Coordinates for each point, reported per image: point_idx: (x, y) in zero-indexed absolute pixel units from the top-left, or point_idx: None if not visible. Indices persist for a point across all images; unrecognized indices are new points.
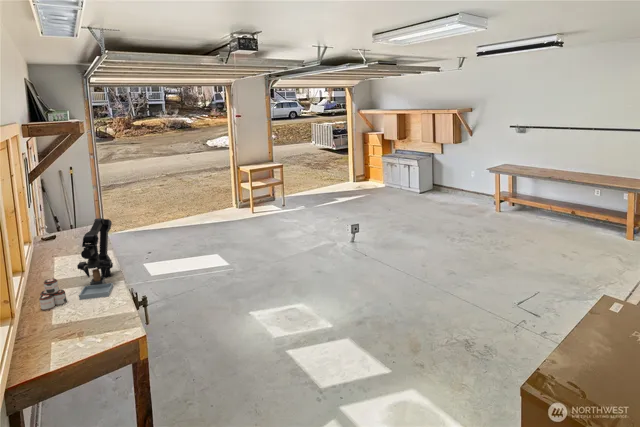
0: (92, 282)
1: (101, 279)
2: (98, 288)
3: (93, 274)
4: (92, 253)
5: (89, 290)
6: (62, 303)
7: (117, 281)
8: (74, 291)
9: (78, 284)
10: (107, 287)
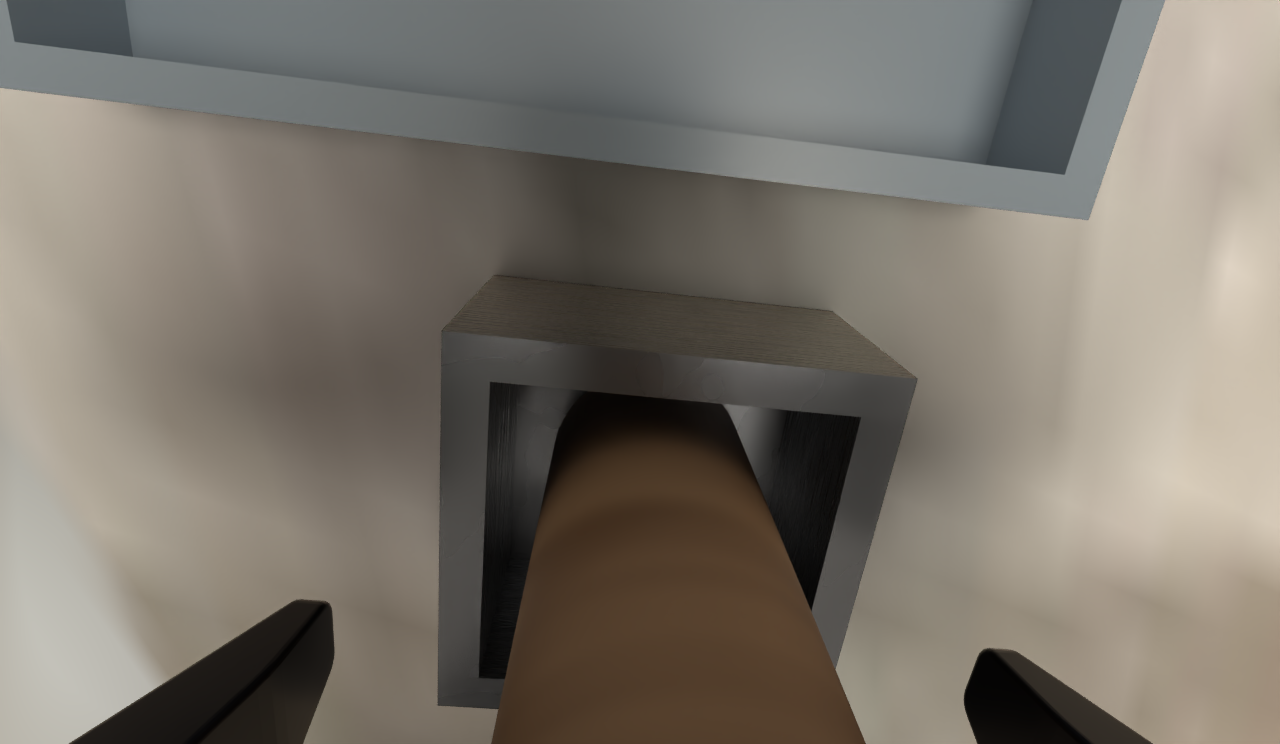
0: (820, 367)
1: None
2: (598, 86)
3: (839, 716)
4: None
5: (889, 16)
6: None
7: (164, 537)
8: (1263, 269)
9: (1092, 686)
10: (287, 42)
